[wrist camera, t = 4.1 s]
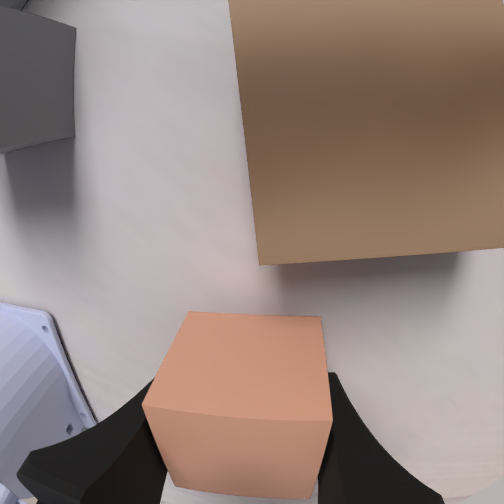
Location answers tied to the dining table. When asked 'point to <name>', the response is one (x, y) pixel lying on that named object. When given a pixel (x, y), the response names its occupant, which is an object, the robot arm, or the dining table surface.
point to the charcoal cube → (35, 80)
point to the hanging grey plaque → (13, 4)
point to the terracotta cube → (243, 405)
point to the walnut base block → (372, 126)
